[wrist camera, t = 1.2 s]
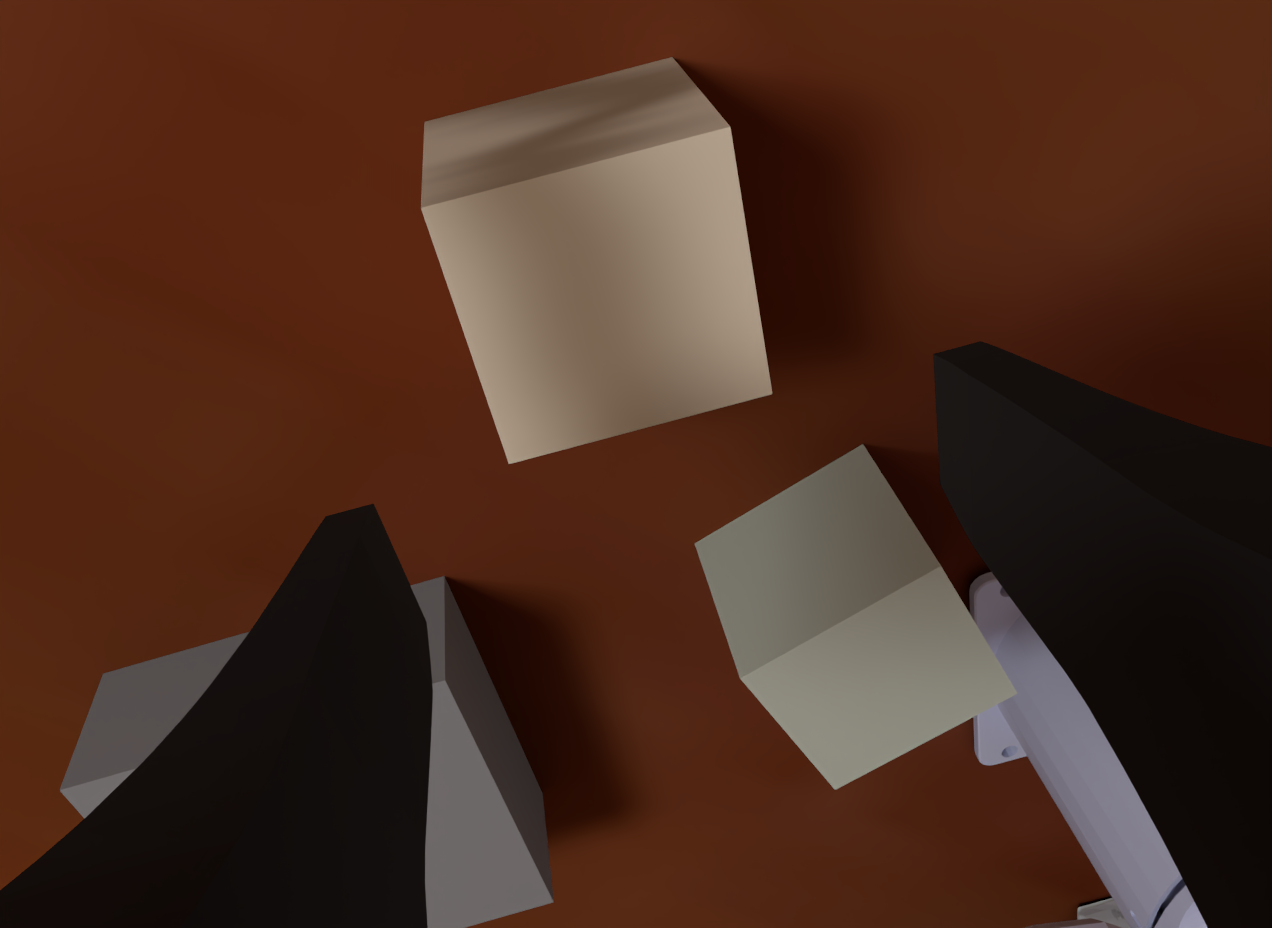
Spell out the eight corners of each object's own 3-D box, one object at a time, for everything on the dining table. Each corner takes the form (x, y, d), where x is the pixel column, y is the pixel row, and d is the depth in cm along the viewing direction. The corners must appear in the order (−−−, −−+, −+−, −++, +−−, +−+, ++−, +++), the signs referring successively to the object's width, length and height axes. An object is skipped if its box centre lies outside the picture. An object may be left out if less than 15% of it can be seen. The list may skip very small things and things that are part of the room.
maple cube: (671, 56, 20) (730, 126, 16) (713, 284, 23) (772, 394, 19) (424, 120, 20) (421, 207, 16) (496, 341, 23) (509, 464, 19)
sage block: (862, 442, 26) (940, 565, 22) (934, 563, 29) (1017, 693, 25) (694, 541, 27) (740, 678, 23) (779, 650, 30) (835, 789, 26)
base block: (444, 568, 27) (444, 680, 23) (541, 785, 32) (553, 901, 28) (106, 664, 27) (59, 789, 23) (258, 866, 32) (237, 992, 28)
